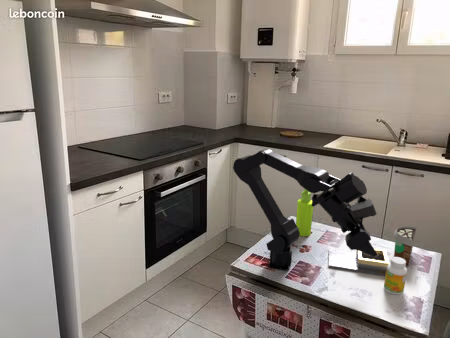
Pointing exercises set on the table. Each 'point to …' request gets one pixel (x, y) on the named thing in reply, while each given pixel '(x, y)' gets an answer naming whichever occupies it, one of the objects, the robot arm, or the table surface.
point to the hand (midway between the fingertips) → (372, 247)
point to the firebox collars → (359, 261)
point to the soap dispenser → (304, 214)
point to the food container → (404, 242)
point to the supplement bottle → (395, 276)
